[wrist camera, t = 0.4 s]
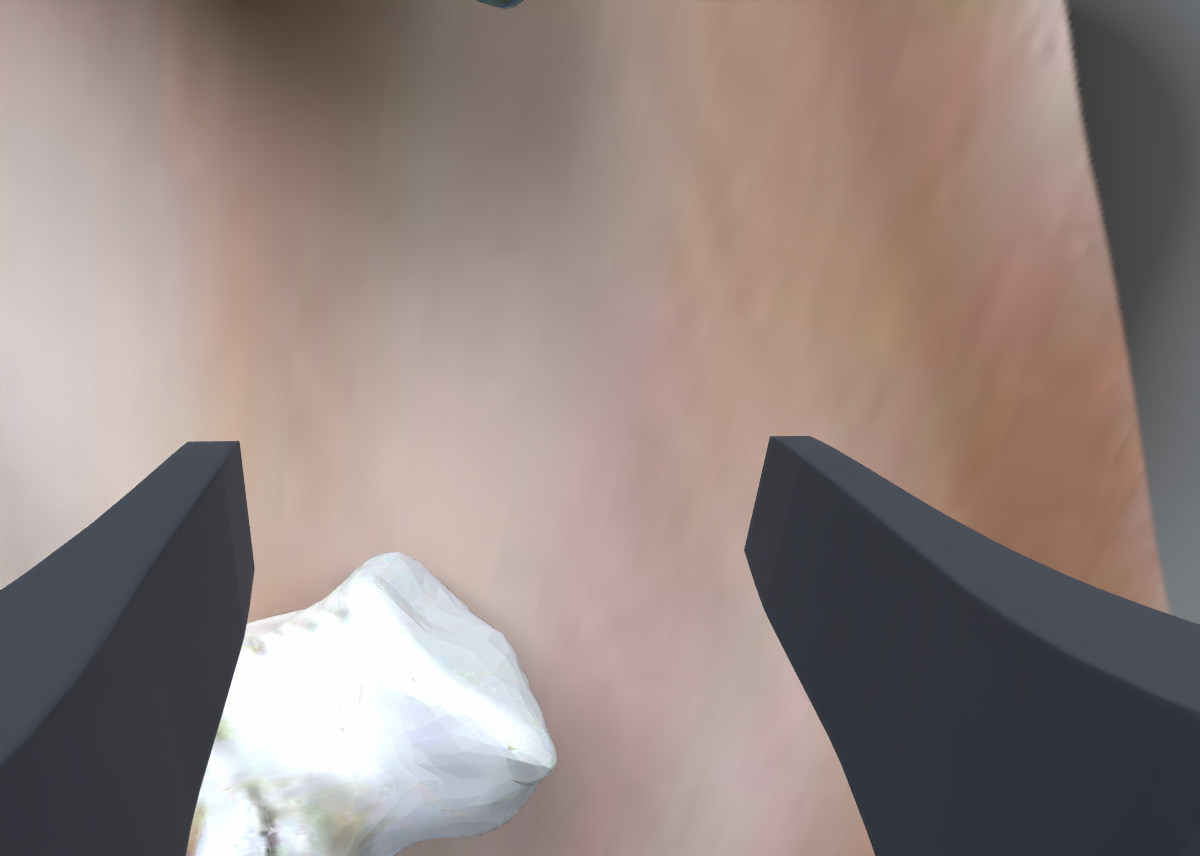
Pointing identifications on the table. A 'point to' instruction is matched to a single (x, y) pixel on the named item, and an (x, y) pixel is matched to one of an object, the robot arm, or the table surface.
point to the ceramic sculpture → (370, 726)
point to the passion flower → (502, 3)
